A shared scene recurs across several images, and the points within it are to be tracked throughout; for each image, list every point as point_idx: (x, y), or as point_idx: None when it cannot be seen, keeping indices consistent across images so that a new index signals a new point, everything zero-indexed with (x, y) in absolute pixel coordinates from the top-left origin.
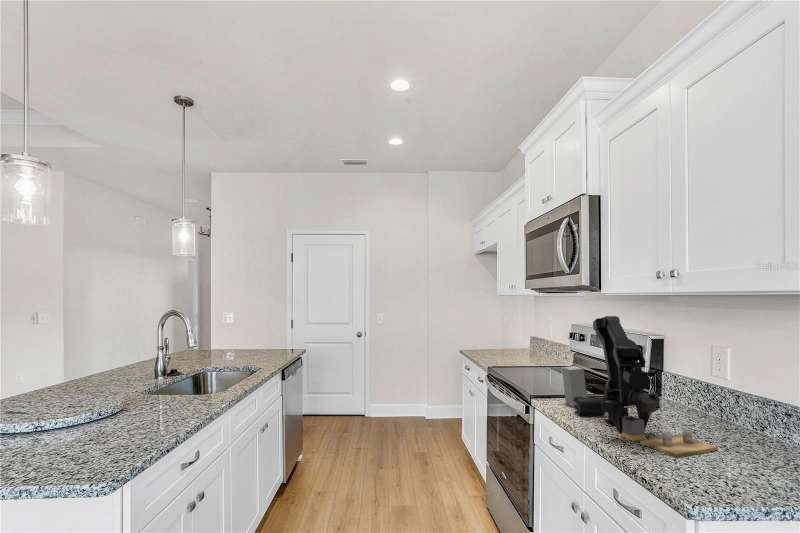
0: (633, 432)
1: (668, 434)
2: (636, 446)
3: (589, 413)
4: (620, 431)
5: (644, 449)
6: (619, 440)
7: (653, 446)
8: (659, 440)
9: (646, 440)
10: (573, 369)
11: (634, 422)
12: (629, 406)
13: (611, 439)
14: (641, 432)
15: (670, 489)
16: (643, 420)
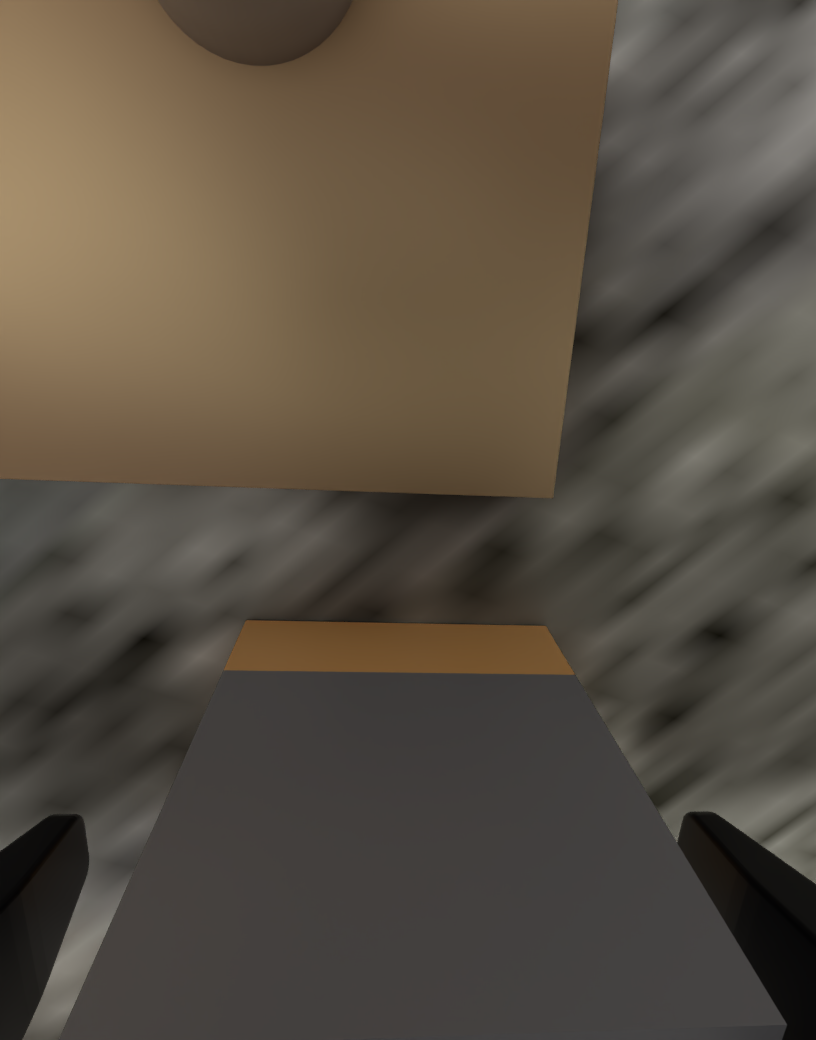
0: (560, 720)
1: None
2: (740, 394)
3: None
4: (751, 849)
5: (766, 199)
6: (712, 716)
7: (595, 111)
8: (158, 310)
9: (446, 433)
10: None
11: (600, 972)
12: None
13: (778, 785)
14: (313, 699)
15: None
16: (89, 1022)
